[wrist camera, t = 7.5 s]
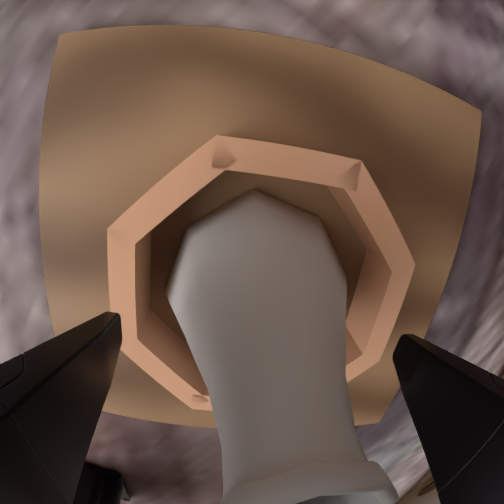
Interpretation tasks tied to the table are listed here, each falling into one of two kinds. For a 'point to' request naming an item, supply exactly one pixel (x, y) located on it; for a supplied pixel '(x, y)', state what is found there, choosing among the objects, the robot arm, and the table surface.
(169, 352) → the ring
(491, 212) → the table surface
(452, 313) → the table surface
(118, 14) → the table surface
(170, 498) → the table surface
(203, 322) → the flask
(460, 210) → the board
